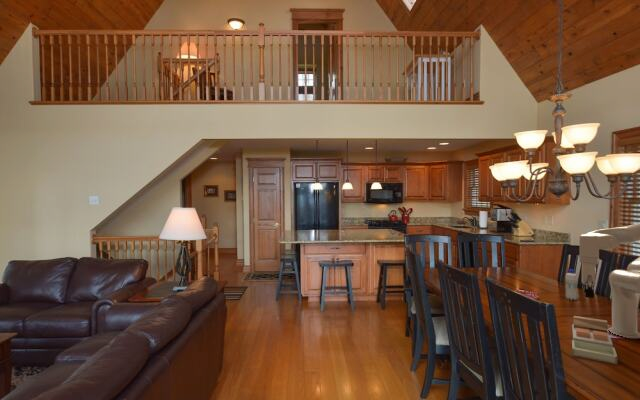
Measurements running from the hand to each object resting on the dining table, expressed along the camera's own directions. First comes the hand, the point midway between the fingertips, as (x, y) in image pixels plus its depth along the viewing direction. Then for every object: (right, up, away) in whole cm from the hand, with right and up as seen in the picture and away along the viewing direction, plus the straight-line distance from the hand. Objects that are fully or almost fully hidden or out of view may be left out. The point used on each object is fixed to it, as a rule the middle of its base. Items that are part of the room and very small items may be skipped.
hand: (588, 295), depth 172 cm
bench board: (-3, -21, -5) cm, 22 cm away
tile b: (-8, -17, -6) cm, 19 cm away
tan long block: (+1, -17, 0) cm, 17 cm away
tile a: (-2, -17, -10) cm, 20 cm away
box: (-12, -21, -18) cm, 30 cm away
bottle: (+35, -20, +61) cm, 73 cm away
